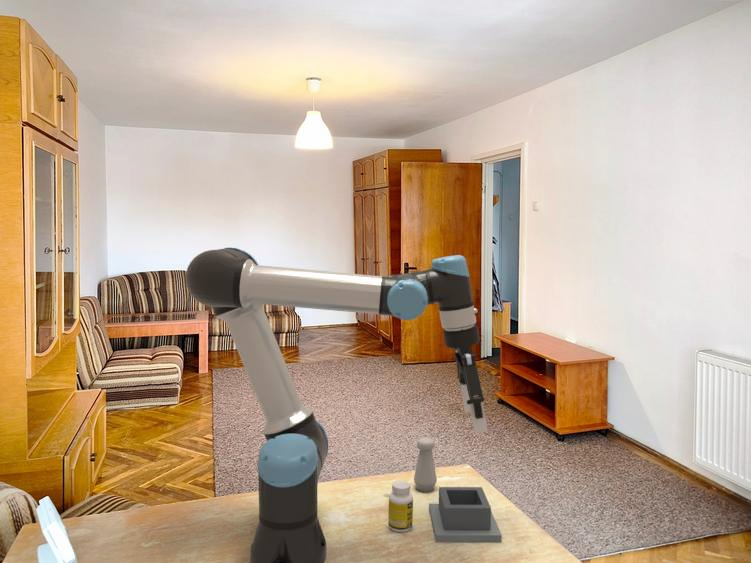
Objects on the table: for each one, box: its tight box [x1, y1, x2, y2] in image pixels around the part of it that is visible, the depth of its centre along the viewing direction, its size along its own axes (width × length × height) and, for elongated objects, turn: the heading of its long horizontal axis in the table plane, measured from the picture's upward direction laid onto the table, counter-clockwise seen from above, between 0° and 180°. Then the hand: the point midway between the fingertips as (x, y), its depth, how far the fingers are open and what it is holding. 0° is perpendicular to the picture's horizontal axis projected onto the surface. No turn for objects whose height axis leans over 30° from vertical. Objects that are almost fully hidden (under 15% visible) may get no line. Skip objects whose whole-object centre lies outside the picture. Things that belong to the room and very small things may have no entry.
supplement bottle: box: [387, 480, 414, 533], centre depth 126 cm, size 5×5×10 cm
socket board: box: [428, 486, 503, 543], centre depth 127 cm, size 14×14×6 cm
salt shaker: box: [413, 437, 438, 493], centre depth 144 cm, size 6×6×13 cm
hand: (475, 421), depth 124 cm, fingers open, 13 cm apart
